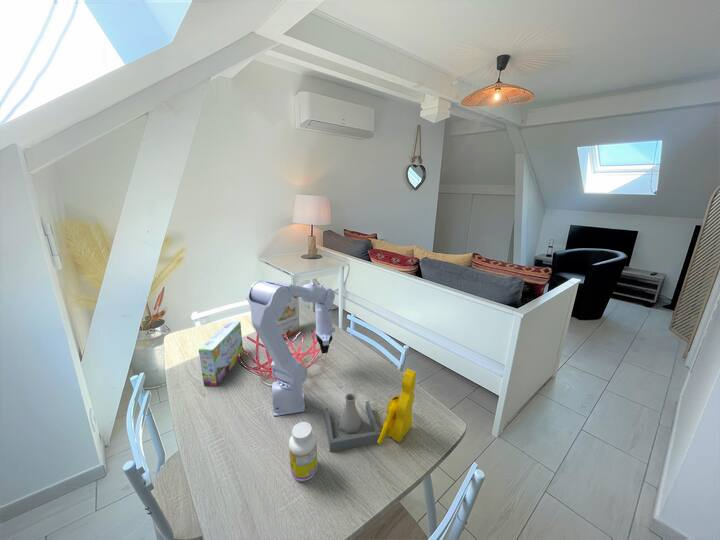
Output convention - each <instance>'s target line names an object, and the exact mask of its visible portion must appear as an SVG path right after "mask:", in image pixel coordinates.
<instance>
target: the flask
mask: <svg viewBox="0 0 720 540" xmlns="http://www.w3.org/2000/svg"><path fill="white" fill-rule="evenodd" d="M344 398H345V405H344V408H343V411H342V413H341V415H340V417H339V420H338V429H339V430H340V431H341V432H344V433H345V434H353V433H354V434H355V433H358V432H359V430H360V429H361V428H362V427H363V423H362V418H361V415H360V413H359V411H358V409H357V406H356V399H357V396H356V394H354V393H352V392H350V393H346V394H345V396H344Z"/></svg>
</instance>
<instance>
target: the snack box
mask: <svg viewBox="0 0 720 540" xmlns="http://www.w3.org/2000/svg"><path fill="white" fill-rule="evenodd" d="M241 328H242V325H241V321H234V320H233V321H232V320H228V321H227V322H226V323H225V324H224V325H223V326H221V328H220V329H219V330H217V332H215V333H214V334H213V335H211V337H210V338H209V339H208V340H207V341H206V342H205V343H204V344H203V345H202V346H200V347H199V348H198V355H199V362H200V368H201V374H202V382H203V386H206V387H207V386H209V387H210V386H211V387H218V386H219V384H220V383H221V382H222V380H223V379H224V378H225V377H226V376H227V375H228V373H230V371H231V369H232V368H233V367H234V365H236V363H237V361H239V359H240V358H241V356H243V354H244V350H243V351H242V348H243V349H244V346H243V337H242V336H243V335H242V329H241ZM238 353H239V354H240V357H239V356H238Z"/></svg>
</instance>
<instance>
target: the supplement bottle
mask: <svg viewBox="0 0 720 540" xmlns="http://www.w3.org/2000/svg"><path fill="white" fill-rule="evenodd" d="M291 430H292V431H291V436H290V438H289V441H288V450H289V451H288V452H289V462H290V463H289V464H290V473H291V475H292V477H293V478H294V479H295V480H296V481H298V482H305V481H308V480H310V479H312V477H314V475H316V472H317V471H318V446H317V444H318V443H317V442H318V441H317V435H316V434H315V432H314V431H313V427H312V425H311V424H310V423H309V422H306V421H300V422H298V423H296V424H295V425H294V426H293V428H292V429H291Z"/></svg>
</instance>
